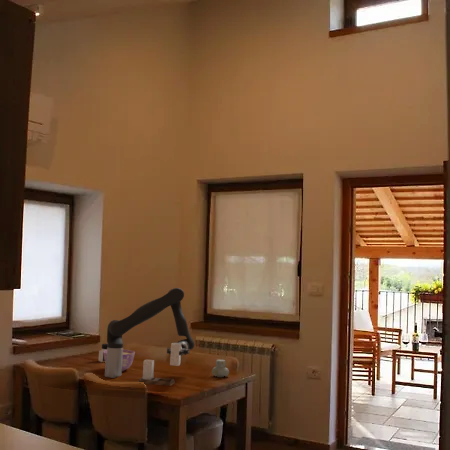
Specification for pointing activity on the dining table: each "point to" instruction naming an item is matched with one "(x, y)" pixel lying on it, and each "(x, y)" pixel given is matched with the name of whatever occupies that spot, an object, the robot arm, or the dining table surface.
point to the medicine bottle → (101, 354)
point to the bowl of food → (124, 358)
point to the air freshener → (220, 369)
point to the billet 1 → (148, 370)
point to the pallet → (158, 381)
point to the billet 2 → (175, 354)
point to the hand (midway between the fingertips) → (174, 352)
